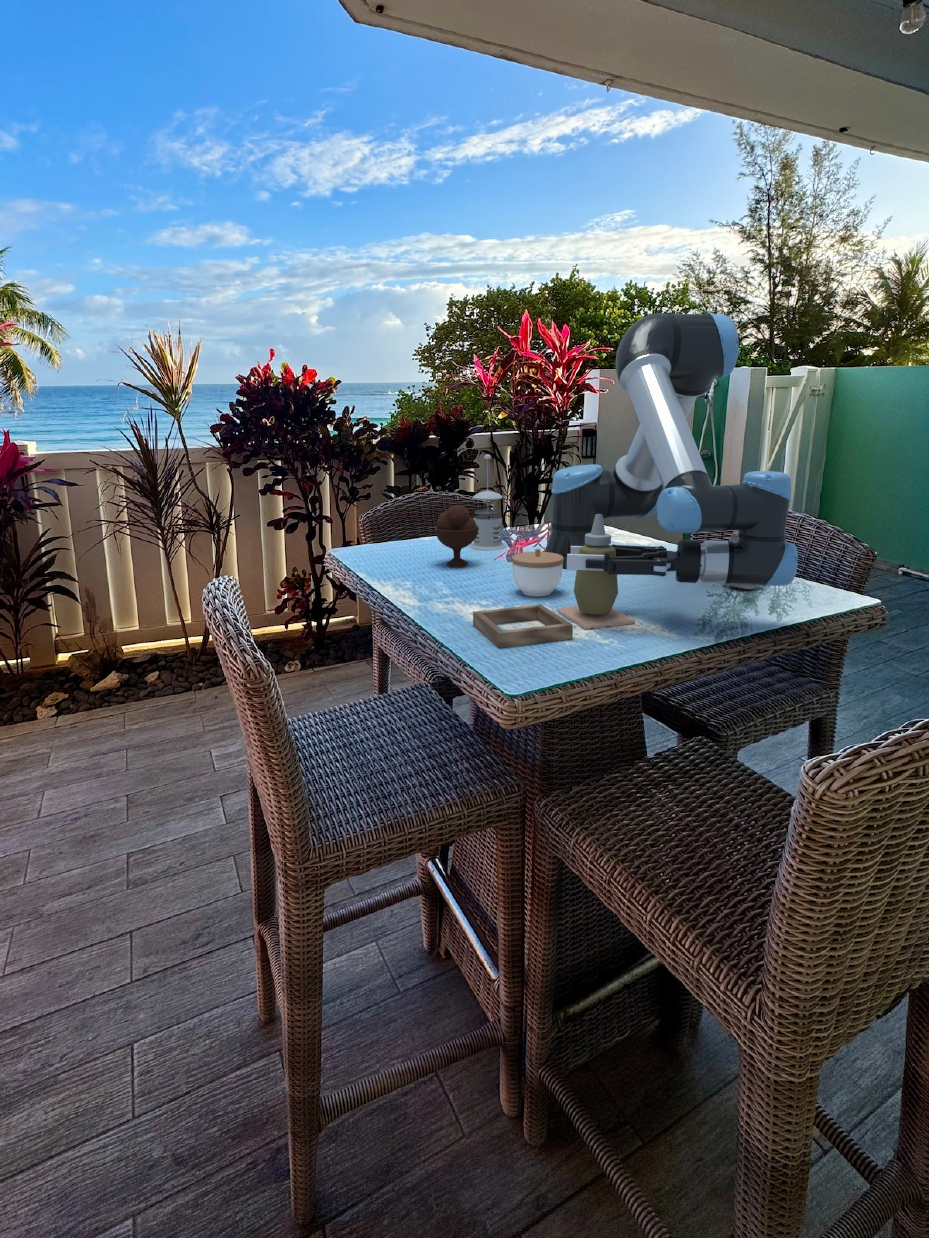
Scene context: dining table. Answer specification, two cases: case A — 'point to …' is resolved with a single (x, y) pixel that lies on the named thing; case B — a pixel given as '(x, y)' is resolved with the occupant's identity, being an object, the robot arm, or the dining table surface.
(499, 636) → the wooden frame
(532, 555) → the lidded jar
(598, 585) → the squeeze bottle
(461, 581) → the dining table surface
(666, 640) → the dining table surface
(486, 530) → the french press
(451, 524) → the ice cream bowl
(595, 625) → the tile
